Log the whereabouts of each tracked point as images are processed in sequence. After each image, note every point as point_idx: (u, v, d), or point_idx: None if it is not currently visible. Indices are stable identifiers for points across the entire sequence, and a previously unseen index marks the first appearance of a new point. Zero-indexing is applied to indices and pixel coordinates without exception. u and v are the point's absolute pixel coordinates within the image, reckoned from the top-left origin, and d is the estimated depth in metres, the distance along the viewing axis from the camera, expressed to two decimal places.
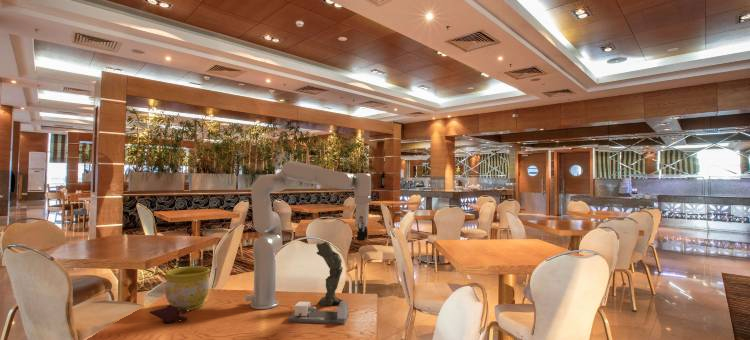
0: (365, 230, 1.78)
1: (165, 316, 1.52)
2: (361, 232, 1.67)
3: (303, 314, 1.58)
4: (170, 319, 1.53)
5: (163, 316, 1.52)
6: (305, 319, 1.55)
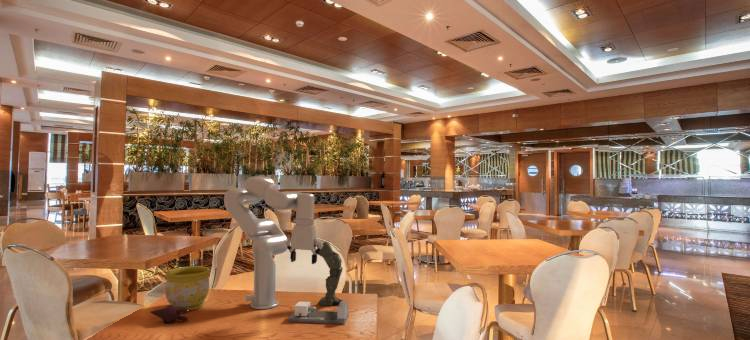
0: (295, 253, 1.67)
1: (166, 316, 1.52)
2: (316, 254, 1.63)
3: (303, 314, 1.58)
4: (171, 319, 1.53)
5: (164, 316, 1.52)
6: (305, 319, 1.55)
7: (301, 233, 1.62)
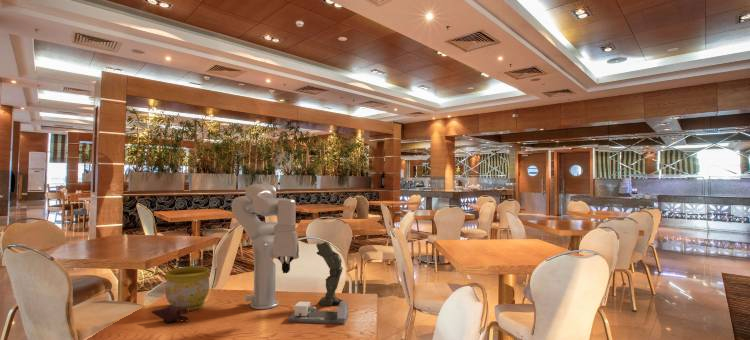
0: None
1: (166, 316, 1.52)
2: (289, 263, 1.62)
3: (303, 314, 1.58)
4: (172, 319, 1.53)
5: (164, 316, 1.52)
6: (305, 319, 1.55)
7: (284, 240, 1.60)
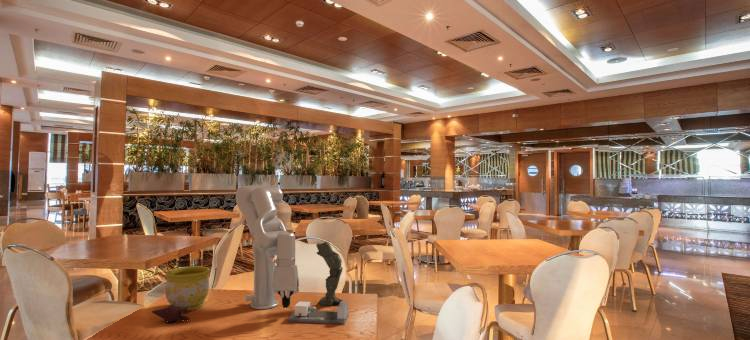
0: None
1: (167, 316, 1.52)
2: (289, 297, 1.61)
3: (303, 314, 1.58)
4: (172, 319, 1.53)
5: (165, 316, 1.52)
6: (305, 319, 1.55)
7: (283, 274, 1.59)
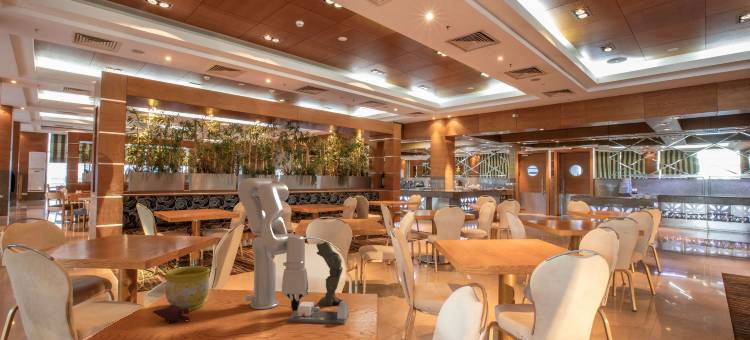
0: None
1: (167, 316, 1.52)
2: (298, 300, 1.61)
3: (306, 314, 1.57)
4: (173, 318, 1.53)
5: (165, 316, 1.52)
6: (305, 319, 1.55)
7: (293, 277, 1.59)
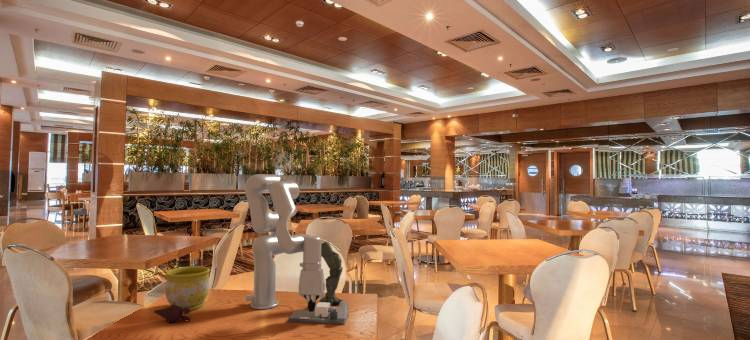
0: None
1: (168, 316, 1.52)
2: (315, 301, 1.61)
3: (323, 315, 1.57)
4: (174, 318, 1.53)
5: (166, 316, 1.52)
6: (305, 319, 1.55)
7: (310, 278, 1.58)
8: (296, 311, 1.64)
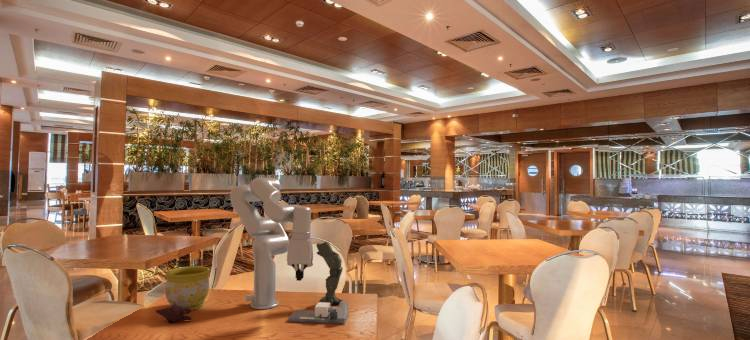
0: None
1: (169, 315, 1.53)
2: (303, 271, 1.62)
3: (323, 315, 1.57)
4: (175, 318, 1.53)
5: (167, 315, 1.52)
6: (305, 319, 1.55)
7: (298, 247, 1.59)
8: (296, 311, 1.64)
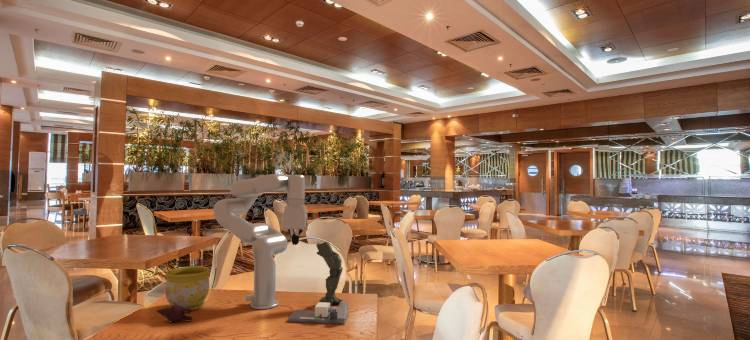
0: None
1: (170, 315, 1.53)
2: (298, 236, 1.70)
3: (323, 315, 1.57)
4: (176, 318, 1.53)
5: (168, 315, 1.53)
6: (305, 319, 1.55)
7: (293, 213, 1.68)
8: (296, 311, 1.64)
